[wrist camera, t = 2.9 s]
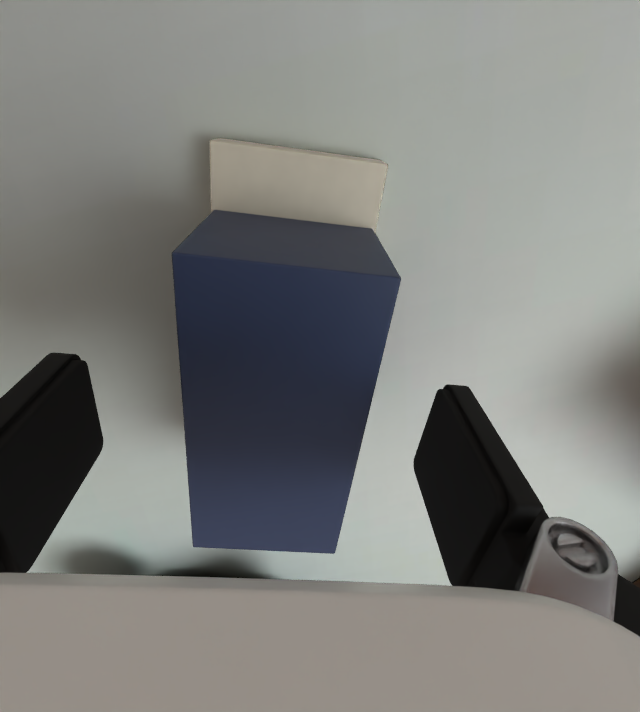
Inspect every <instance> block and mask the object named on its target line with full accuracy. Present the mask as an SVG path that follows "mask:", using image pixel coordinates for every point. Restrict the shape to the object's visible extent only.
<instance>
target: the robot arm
mask: <svg viewBox="0 0 640 712" xmlns="http://www.w3.org/2000/svg"><path fill="white" fill-rule="evenodd" d="M102 447H103V436H102V431H101V426H100V422H99V417H98V412H97V408H96V403H95V398H94V393H93V389H92V384H91V379H90V374H89V370H88V366H87V363H86V362H85V361H82V360H81V359H80V357H79V356H78V355H76V354H65V353H50V354H48V355H47V356H46V357H45V358H44V359H43V360H41V361H40V362H39V363H38V364H37V365H36V366H35V367H34V368H33V369H32V370H31V371H30V372H28V373H27V374H26V375H25V376H24V377H23V378H22V379H21V380H20V381H19V382H18V383H17V384H16V385H14V386H13V387H12V388H11V389H10V390H9V391H8V392H7V393H6V394H5V395H4V396H3V397H1V398H0V712H640V588H639V587H637V586H636V585H634V584H633V583H631V582H630V581H628V580H626V579H625V578H623V577H622V576H620V575H619V574H618V566H617V561H616V559H615V556H614V554H613V552H612V551H611V549H610V548H609V547H608V546H607V544H606V543H605V542H604V541H603V540H602V539H601V538H600V537H599V536H598V535H597V534H595V533H594V532H593V531H592V530H590V529H589V528H587V527H585V526H584V525H582V524H580V523H578V522H576V521H573V520H571V519H567V518H563V517H551V518H549V517H548V515H547V514H546V512H545V510H544V509H543V505H542V504H541V502H540V501H539V499H538V497H537V496H536V494H535V493H534V491H533V489H532V488H531V486H530V485H529V483H528V481H527V480H526V478H525V477H524V475H523V473H522V472H521V470H520V468H519V467H518V465H517V464H516V462H515V460H514V459H513V457H512V456H511V454H510V452H509V451H508V449H507V448H506V446H505V444H504V443H503V441H502V440H501V438H500V436H499V435H498V433H497V432H496V430H495V428H494V427H493V425H492V424H491V422H490V420H489V419H488V417H487V415H486V414H485V412H484V411H483V409H482V407H481V406H480V404H479V403H478V401H477V399H476V398H475V396H474V395H473V393H472V391H471V390H470V388H469V387H467V386H459V385H445V387H444V388H443V389H439V390H438V391H437V393H436V396H435V399H434V402H433V405H432V408H431V411H430V414H429V417H428V419H427V422H426V425H425V428H424V431H423V434H422V437H421V440H420V443H419V446H418V449H417V452H416V455H415V458H414V471H415V474H416V478H417V481H418V484H419V487H420V490H421V493H422V496H423V499H424V503H425V506H426V509H427V512H428V515H429V518H430V521H431V524H432V528H433V531H434V534H435V537H436V540H437V543H438V546H439V550H440V553H441V556H442V559H443V562H444V565H445V568H446V571H447V575H448V578H449V580H450V583H451V584H452V585H453V586H443V585H424V584H400V583H372V582H344V581H315V580H284V579H252V578H218V577H184V576H147V575H106V574H66V573H26V572H27V571H28V570H29V569H30V568H31V566H32V565H33V563H34V562H35V560H36V558H37V557H38V555H39V553H40V552H41V550H42V548H43V547H44V545H45V544H46V542H47V540H48V539H49V537H50V535H51V534H52V532H53V530H54V529H55V527H56V525H57V524H58V522H59V520H60V519H61V517H62V515H63V514H64V512H65V510H66V509H67V507H68V505H69V504H70V502H71V501H72V499H73V497H74V496H75V494H76V492H77V491H78V489H79V487H80V486H81V484H82V482H83V481H84V479H85V477H86V476H87V474H88V472H89V471H90V469H91V467H92V466H93V464H94V462H95V461H96V459H97V458H98V456H99V454H100V452H101V450H102Z"/></svg>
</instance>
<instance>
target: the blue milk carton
mask: <svg viewBox="0 0 640 712" xmlns="http://www.w3.org/2000/svg"><path fill="white" fill-rule="evenodd" d="M209 143H210V194H211V214H210V215H209V216H208V217H207V218H206V219H205V220H204V221H203V222H202V223H201V224H200V225H199V226H198V227H197V228H196V229H195V230H194V231H193V232H192V233H191V234H190V235H189V236H188V237H187V238H186V239H185V240H184V241H183V242H182V243H181V244H180V245H179V246H178V247H177V248H176V249H175V250H174V251H173V252H172V265H173V279H174V293H175V307H176V320H177V334H178V348H179V361H180V375H181V389H182V402H183V416H184V430H185V444H186V457H187V471H188V485H189V498H190V512H191V526H192V539H193V547H204V548H225V549H247V550H268V551H289V552H311V553H332V554H334V553H335V551H336V546H337V542H338V538H339V534H340V530H341V526H342V522H343V517H344V513H345V509H346V505H347V501H348V497H349V493H350V488H351V484H352V480H353V476H354V472H355V468H356V464H357V460H358V455H359V451H360V447H361V443H362V439H363V435H364V431H365V426H366V422H367V418H368V414H369V410H370V406H371V402H372V397H373V393H374V389H375V385H376V381H377V377H378V373H379V368H380V364H381V360H382V356H383V352H384V348H385V344H386V339H387V335H388V331H389V327H390V323H391V319H392V315H393V310H394V306H395V302H396V298H397V294H398V290H399V286H400V281H401V277H400V276H399V274H398V272H397V270H396V269H395V267H394V265H393V263H392V262H391V260H390V258H389V257H388V255H387V253H386V251H385V250H384V248H383V246H382V244H381V243H380V241H379V239H378V237H377V236H376V234H375V231H376V226H377V221H378V216H379V211H380V205H381V200H382V195H383V190H384V185H385V180H386V174H387V169H388V164H386V163H385V162H383V161H381V160H377V159H370V158H362V157H355V156H348V155H340V154H333V153H326V152H319V151H311V150H304V149H297V148H289V147H282V146H275V145H268V144H260V143H253V142H246V141H238V140H231V139H224V138H217V139H213V140H210V142H209Z"/></svg>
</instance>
